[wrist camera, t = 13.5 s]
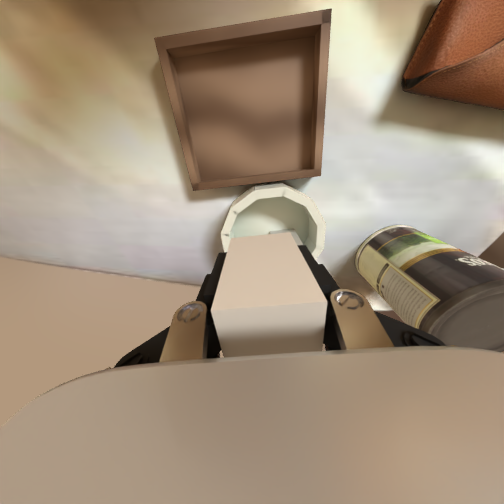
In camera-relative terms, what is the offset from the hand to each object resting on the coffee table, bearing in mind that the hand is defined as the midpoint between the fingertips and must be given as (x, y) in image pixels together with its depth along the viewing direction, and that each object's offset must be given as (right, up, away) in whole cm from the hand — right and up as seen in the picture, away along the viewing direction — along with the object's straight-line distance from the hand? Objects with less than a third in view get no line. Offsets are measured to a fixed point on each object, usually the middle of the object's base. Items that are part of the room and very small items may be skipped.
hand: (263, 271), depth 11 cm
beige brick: (0, 0, +1) cm, 1 cm away
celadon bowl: (+2, +5, +16) cm, 17 cm away
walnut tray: (-1, +16, +10) cm, 19 cm away
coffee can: (+21, +1, +18) cm, 28 cm away
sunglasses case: (+24, +23, +7) cm, 34 cm away
